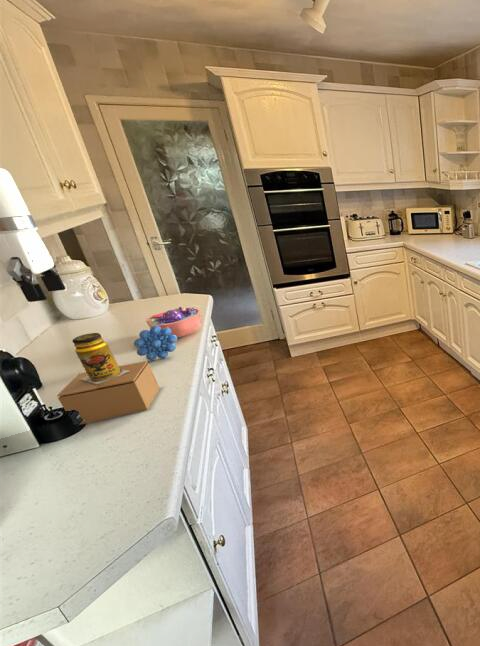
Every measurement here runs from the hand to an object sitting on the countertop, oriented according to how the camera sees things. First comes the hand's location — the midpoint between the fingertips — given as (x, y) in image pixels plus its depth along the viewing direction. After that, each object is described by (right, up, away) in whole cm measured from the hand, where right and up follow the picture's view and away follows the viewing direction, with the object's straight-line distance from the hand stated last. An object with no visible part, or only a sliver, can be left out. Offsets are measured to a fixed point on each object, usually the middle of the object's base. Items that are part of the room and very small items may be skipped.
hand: (48, 295), depth 98 cm
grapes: (-7, -18, +40) cm, 45 cm away
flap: (+2, -22, +7) cm, 24 cm away
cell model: (-16, -10, +59) cm, 62 cm away
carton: (+6, -30, +12) cm, 33 cm away
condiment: (+5, -21, +9) cm, 24 cm away
